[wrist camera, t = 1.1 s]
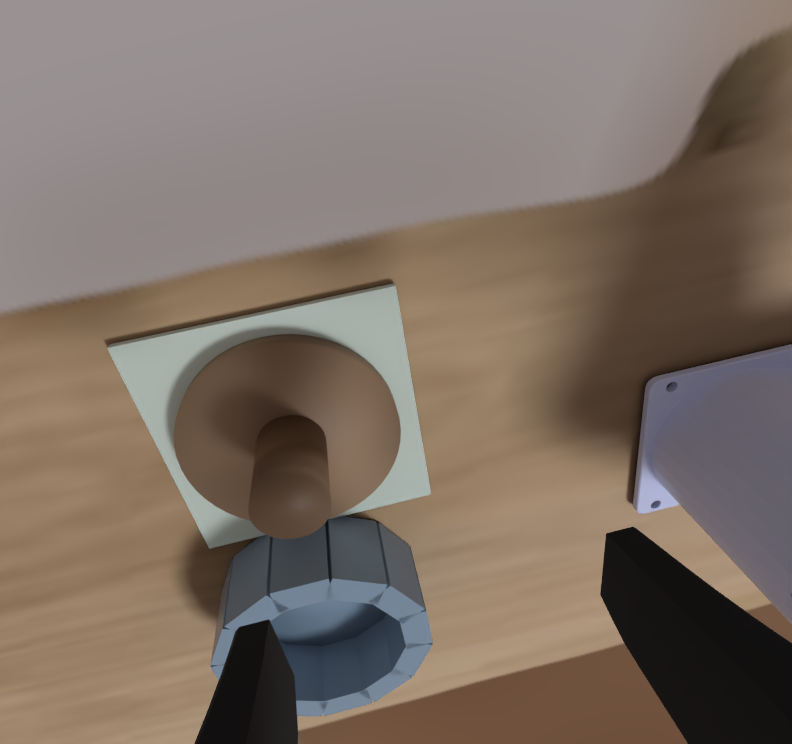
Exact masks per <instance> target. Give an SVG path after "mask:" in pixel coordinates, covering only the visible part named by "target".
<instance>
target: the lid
mask: <svg viewBox="0 0 792 744" xmlns="http://www.w3.org/2000/svg"><path fill="white" fill-rule="evenodd" d="M173 435H174V448H175V453H176V457H177V460H178V463H179V465H180V468H181V470H182V472H183V473H184V475H185V477H186V478H187V480H188V481H189V483H190V484H191V485H192V486H193V487H194V489H195V490H196V491H197V492H198V493H199V494H200V495H202V496H203V497H204V498H205V499H206V500H207V501H209V502H210V503H212V504H213V505H214V506H216V507H218V508H220V509H221V510H223V511H225V512H227V513H229V514H231V515H234V516H236V517H239V518H242V519H245V520H249V521H251V522H252V524H253V525H254V526H255V527H256V528H257V529H258V530H259V531H261V532H262V533H264V534H266V535H268V536H271V537H274V538H279V539H296V538H301V537H304V536H307V535H310V534H312V533H314V532H315V531H317V530H318V529H320V528H321V527H322V526H323V525H324V524H325V523H326V521H327V520H328V518H331V517H334V516H336V515H339V514H341V513H343V512H345V511H347V510H349V509H351V508H353V507H355V506H356V505H358V504H359V503H361V502H362V501H364V500H365V499H366V498H367V497H368V496H370V495H371V494H372V493H373V492H374V491H375V490H376V489H377V488H378V487H379V486H380V485H381V484H382V482H383V481H384V480H385V478H386V477H387V475H388V474H389V472H390V470H391V469H392V467H393V465H394V463H395V460H396V457H397V454H398V451H399V446H400V439H401V427H400V418H399V415H398V411H397V408H396V404H395V401H394V398H393V395H392V393H391V391H390V389H389V386H388V385H387V383H386V382H385V380H384V379H383V377H382V376H381V374H380V373H379V372H378V371H377V370H376V369H375V368H374V366H373V365H372V364H370V363H369V362H368V361H367V360H366V359H364V358H363V357H362V356H360V355H359V354H357V353H356V352H354V351H353V350H351V349H349V348H347V347H345V346H343V345H341V344H338V343H336V342H333V341H330V340H327V339H324V338H319V337H314V336H309V335H298V334H280V335H271V336H265V337H259V338H256V339H252V340H249V341H245V342H243V343H241V344H238V345H236V346H233V347H231V348H229V349H228V350H226V351H224V352H223V353H221V354H219V355H218V356H216V357H215V358H214V359H213V360H211V361H210V362H209V363H207V364H206V365H205V366H204V367H203V368H202V369H201V371H200V372H199V373H198V374H197V375H196V376H195V378H194V379H193V381H192V382H191V383H190V385H189V386H188V389H187V391H186V393H185V395H184V397H183V399H182V402H181V404H180V407H179V410H178V413H177V416H176V420H175V425H174V434H173Z"/></svg>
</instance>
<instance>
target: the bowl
mask: <svg viewBox="0 0 792 744" xmlns="http://www.w3.org/2000/svg"><path fill="white" fill-rule="evenodd" d="M268 619H269V620H270V622H271V624H272V626H273V629H274V631H275V633H276V635H277V638H278V640H279V642H280V644H281V647H282V649H283V651H284V653H285V656H286V658H287V660H288V662H289V665H290V667H291V669H292V671H293V673H294V676H295V691H296V706H297V716H322V714H323V713H324V716H327V715H330V714H334V713H338V712H341V711H345V710H349V709H352V708H356V707H360V706H363V705H367V704H371V703H372V701H374V702H375V701H377V700H379V699H380V698H382V697H383V696H385V695H386V694H388V693H389V692H391V691H392V690H394V689H395V688H397V687H398V686H400V685H401V684H403V683H405V682H406V681H408V680H409V679H411V678H412V676H414V675H415V673H416V671H417V670H418V668H419V666H420V665H421V663H422V661H423V660H424V658H425V656H426V655H427V653H428V651H429V650H430V648H431V646H432V643H433V641H432V636H431V631H430V626H429V622H428V617H427V612H426V608H425V604H424V600H423V596H422V592H421V588H420V584H419V580H418V576H417V572H416V568H415V564H414V560H413V556H412V552H411V548H410V547H409V545H408V544H407V543H405V542H404V541H403V540H402V539H400V538H399V537H398V536H396V535H395V534H394V533H392V532H391V531H390V530H388V529H387V528H386V527H384V526H383V525H382V524H381V523H379V522H378V523H377V524H376V521H373V520H366V519H359V518H353V517H346V516H341V517H337V518H333V519H328V520H327V521H326V523H325V524H324V525H323V526H322V527H321V528H320V529H318V530H317V531H315V532H314V533H312V534H310V535H307V536H304V537H301V538H296V539H279V538H274V537H271V536H268V535H263V536H259V537H258V538H257V539H255V540H254V541H253V542H252V543H250V544H249V545H248V546H246V547H245V548H244V549H243V550H241V551H240V552H239V553H237V554H236V555H235V556H234V559H233V558H232V561H231V564H230V568H229V571H228V574H227V577H226V580H225V584H224V587H223V590H222V594H221V600H220V607H219V613H218V620H217V626H216V633H215V639H214V646H213V652H212V659H211V669H212V670H213V672H214V673H215V675H216V677H217V678H218V680H219V679H220V676H221V673H222V670H223V667H224V665H225V662H226V659H227V656H228V653H229V650H230V647H231V644H232V640H233V637H234V634H235V631H236V630H237V629H238V628H239V627H241V626H245V625H249V624H252V623H256V622H260V621H264V620H268Z"/></svg>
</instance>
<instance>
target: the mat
mask: <svg viewBox="0 0 792 744" xmlns="http://www.w3.org/2000/svg"><path fill="white" fill-rule="evenodd" d="M280 334H298V335H309V336H314V337H319V338H324V339H327V340H330V341H333V342H336V343H338V344H341V345H343V346H345V347H347V348H349V349H351V350H353V351H354V352H356V353H357V354H359V355H360V356H362V357H363V358H364V359H366V360H367V361H368V362H369V363H370V364H372V365H373V366H374V368H375V369H376V370H377V371H378V372H379V373H380V374H381V376H382V377H383V379H384V380H385V382H386V383H387V385H388V386H389V389H390V391H391V393H392V395H393V398H394V401H395V404H396V408H397V411H398V415H399V418H400V427H401V439H400V446H399V451H398V454H397V457H396V460H395V463H394V465H393V467H392V469H391V470H390V472H389V474H388V475H387V477H386V478H385V480H384V481H383V482H382V484H381V485H380V486H379V487H378V488H377V489H376V490H375V491H374V492H373V493H372V494H371V495H370V496H368V497H367V498H366V499H365V500H364V501H362V502H361V503H359V504H358V505H356V506H355V507H353V508H351V509H349V510H347V511H345V512H343V513H341V514H339V515H336V516H334V517H331V518H328V519H333V518H337V517H341V516H345V515H349V514H353V513H357V512H361V511H365V510H369V509H373V508H377V507H381V506H386V505H390V504H394V503H398V502H402V501H406V500H410V499H414V498H418V497H422V496H426V495H430V494H431V491H430V485H429V479H428V473H427V467H426V461H425V455H424V450H423V444H422V438H421V432H420V426H419V420H418V414H417V408H416V403H415V397H414V391H413V385H412V379H411V373H410V367H409V361H408V356H407V350H406V344H405V338H404V332H403V326H402V320H401V314H400V309H399V303H398V297H397V291H396V286H395V284H394V283H392V284H388V285H383V286H378V287H374V288H369V289H364V290H360V291H355V292H350V293H346V294H341V295H336V296H332V297H327V298H323V299H318V300H313V301H309V302H304V303H299V304H295V305H290V306H285V307H281V308H276V309H271V310H267V311H262V312H257V313H253V314H248V315H244V316H239V317H234V318H230V319H225V320H220V321H216V322H211V323H206V324H202V325H197V326H192V327H188V328H183V329H178V330H174V331H169V332H165V333H160V334H155V335H151V336H146V337H141V338H137V339H132V340H127V341H123V342H118V343H113V344H110V345H109V346H108V347H107V349H108V351H109V353H110V355H111V357H112V359H113V361H114V363H115V365H116V367H117V369H118V371H119V373H120V375H121V377H122V379H123V381H124V383H125V385H126V386H127V388H128V390H129V392H130V394H131V396H132V398H133V400H134V402H135V404H136V406H137V408H138V410H139V412H140V414H141V416H142V418H143V420H144V422H145V424H146V426H147V428H148V430H149V432H150V434H151V436H152V438H153V439H154V441H155V443H156V445H157V447H158V449H159V451H160V453H161V455H162V457H163V459H164V461H165V463H166V465H167V467H168V469H169V471H170V473H171V475H172V477H173V479H174V481H175V483H176V485H177V487H178V489H179V490H180V492H181V494H182V496H183V498H184V500H185V502H186V504H187V506H188V508H189V510H190V512H191V514H192V516H193V518H194V520H195V522H196V524H197V526H198V528H199V530H200V532H201V534H202V536H203V538H204V540H205V542H206V543H207V545H208V547H209V549H211V548H215V547H219V546H223V545H227V544H231V543H235V542H239V541H243V540H247V539H251V538H255V537H259V536H263V535H266V534H264V533H262V532H261V531H259V530H258V529H257V528H256V527H255V526H254V525H253V524H252V522H251V521H249V520H245V519H242V518H239V517H236V516H234V515H231V514H229V513H227V512H225V511H223V510H221V509H220V508H218V507H216V506H214V505H213V504H212V503H210V502H209V501H207V500H206V499H205V498H204V497H203V496H202V495H200V494H199V493H198V492H197V491H196V490H195V489H194V487H193V486H192V485H191V484H190V483H189V481H188V480H187V478H186V477H185V475H184V473H183V472H182V470H181V468H180V465H179V463H178V460H177V457H176V453H175V448H174V435H173V434H174V425H175V420H176V416H177V413H178V410H179V407H180V404H181V402H182V399H183V397H184V395H185V393H186V391H187V389H188V386H189V385H190V383H191V382H192V381H193V379H194V378H195V376H196V375H197V374H198V373H199V372H200V371H201V369H202V368H203V367H204V366H205V365H206V364H207V363H209V362H210V361H211V360H213V359H214V358H215V357H216V356H218V355H219V354H221V353H223V352H224V351H226V350H228V349H229V348H231V347H233V346H236V345H238V344H241V343H243V342H245V341H249V340H252V339H256V338H259V337H265V336H271V335H280Z"/></svg>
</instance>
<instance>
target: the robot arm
mask: <svg viewBox="0 0 792 744" xmlns="http://www.w3.org/2000/svg"><path fill="white" fill-rule="evenodd" d="M669 383H671V384H670V385H669V386H668V387H667V385H668V384H669ZM676 505H681V506H682V507H683V508H684V509H685V510H686V512H687V513H688V514H689V515H690V516H691V517H692V518H693V519H694V520H695V521H696V522H697V523H698V524H699V525H700V527H701V528H702V529H703V530H704V531H705V532H706V533H707V534H708V535H709V536H710V537H711V538H712V539H713V540H714V542H715V543H716V544H717V545H718V546H719V547H720V548H721V549H722V550H723V551H724V552H725V553H726V554H727V555H728V556H729V558H730V559H731V560H732V561H733V562H734V563H735V564H736V565H737V566H738V567H739V568H740V569H741V570H742V571H743V573H744V574H745V575H746V576H747V577H748V578H749V579H750V580H751V581H752V582H753V583H754V584H755V585H756V586H757V588H758V589H759V590H760V591H761V592H762V593H763V594H764V595H765V596H766V597H767V598H768V599H769V600H770V601H771V602H772V604H773V605H774V606H775V607H776V608H777V609H778V610H779V611H780V612H781V613H782V614H783V615H784V616H785V617H786V619H787V620H788V621H789V622H790V623H791V624H792V344H790V345H786V346H781V347H777V348H773V349H769V350H765V351H760V352H756V353H752V354H748V355H743V356H739V357H735V358H731V359H727V360H722V361H718V362H714V363H710V364H705V365H701V366H697V367H693V368H689V369H684V370H680V371H676V372H672V373H667V374H663V375H659V376H656V377H653V378H652V379H650V380H649V381H648V383H647V384H646V387H645V395H644V404H643V414H642V423H641V433H640V442H639V452H638V461H637V471H636V480H635V490H634V499H633V507H634V508H635V510H636V511H637V512H638V513H641V514H644V513H649V512H653V511H657V510H661V509H665V508H669V507H672V506H676ZM601 597H602V599H603V601H604V603H605V605H606V607H607V609H608V611H609V613H610V615H611V617H612V620H613V622H614V624H615V625H616V627H617V629H618V631H619V633H620V635H621V637H622V639H623V641H624V643H625V645H626V646H627V648H628V649H629V651H630V653H631V654H632V656H633V658H634V659H635V661H636V662H637V664H638V666H639V667H640V669H641V670H642V672H643V674H644V675H645V677H646V678H647V680H648V681H649V683H650V685H651V686H652V688H653V689H654V691H655V692H656V694H657V695H658V697H659V699H660V700H661V702H662V703H663V705H664V707H665V708H666V710H667V711H668V713H669V714H670V716H671V717H672V719H673V720H674V722H675V723H676V725H677V727H678V728H679V730H680V732H681V733H682V735H683V736H684V738H685V739H686V741H687V743H688V744H792V643H791V642H789V641H788V640H786V639H785V638H783V637H782V636H780V635H779V634H777V633H776V632H774V631H773V630H771V629H770V628H768V627H767V626H766V625H764V624H763V623H761V622H760V621H758V620H757V619H756V618H754V617H752V616H751V615H750V614H749V613H747V612H746V611H744V610H743V609H742V608H740V607H739V606H738V605H736V604H735V603H733V602H732V601H731V600H729V599H728V598H726V597H725V596H724V595H722V594H721V593H720V592H718V591H717V590H715V589H714V588H713V587H711V586H710V585H709V584H707V583H706V582H705V581H703V580H702V579H701V578H699V577H698V576H697V575H695V574H694V573H693V572H692V571H690V570H689V569H688V568H686V567H685V566H684V565H682V564H681V563H680V562H678V561H677V560H676V559H675V558H673V557H672V556H671V555H669V554H668V553H667V552H666V551H664V550H663V549H662V548H660V547H659V546H658V545H657V544H655V543H654V542H653V541H652V540H650V539H649V538H648V537H646V536H645V535H644V534H643V533H641V532H640V531H639V530H637V529H636V528H634V527H630V528H626V529H622V530H618V531H614V532H610V533H607V534H606V542H605V552H604V563H603V573H602V584H601ZM297 743H298V726H297V706H296V691H295V676H294V673H293V671H292V669H291V667H290V665H289V662H288V660H287V658H286V656H285V653H284V651H283V649H282V647H281V644H280V642H279V640H278V638H277V635H276V633H275V631H274V629H273V626H272V624H271V622H270V620H269V619H268V620H264V621H260V622H256V623H252V624H249V625H245V626H241V627H239V628H238V629H237V630H236V631H235V634H234V637H233V640H232V644H231V647H230V650H229V653H228V656H227V659H226V662H225V665H224V667H223V670H222V673H221V676H220V679H219V682H218V684H217V687H216V690H215V692H214V695H213V698H212V700H211V703H210V706H209V709H208V711H207V714H206V716H205V719H204V721H203V724H202V726H201V729H200V731H199V734H198V736H197V739H196V741H195V744H297Z"/></svg>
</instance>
